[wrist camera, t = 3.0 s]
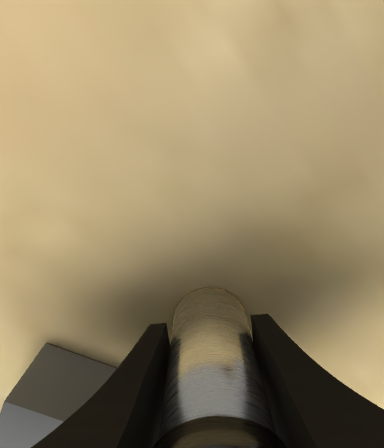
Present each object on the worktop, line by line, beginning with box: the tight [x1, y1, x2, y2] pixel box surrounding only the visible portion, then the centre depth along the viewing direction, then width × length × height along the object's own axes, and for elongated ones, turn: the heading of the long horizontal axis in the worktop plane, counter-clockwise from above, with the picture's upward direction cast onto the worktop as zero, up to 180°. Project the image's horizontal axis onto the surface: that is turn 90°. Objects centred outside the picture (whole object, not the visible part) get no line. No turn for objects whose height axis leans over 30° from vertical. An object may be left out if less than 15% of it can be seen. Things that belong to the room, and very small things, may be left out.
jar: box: [153, 288, 287, 448], centre depth 9 cm, size 3×3×7 cm
